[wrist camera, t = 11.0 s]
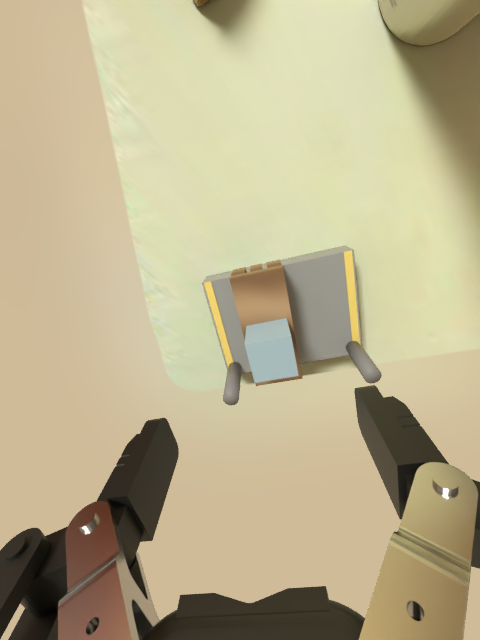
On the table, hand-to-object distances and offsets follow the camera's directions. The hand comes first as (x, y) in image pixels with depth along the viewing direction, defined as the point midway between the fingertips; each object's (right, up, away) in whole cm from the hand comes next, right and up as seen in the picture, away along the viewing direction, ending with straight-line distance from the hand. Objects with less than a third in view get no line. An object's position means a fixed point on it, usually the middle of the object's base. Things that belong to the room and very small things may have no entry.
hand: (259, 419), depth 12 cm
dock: (+4, +5, +23) cm, 24 cm away
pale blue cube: (+2, +2, +17) cm, 17 cm away
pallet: (+2, +4, +20) cm, 21 cm away
